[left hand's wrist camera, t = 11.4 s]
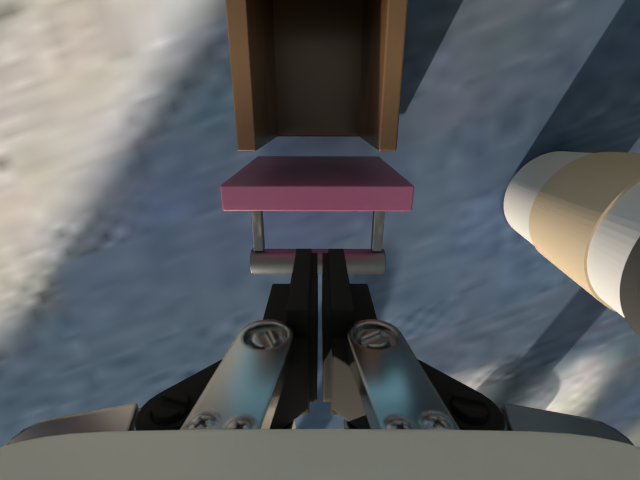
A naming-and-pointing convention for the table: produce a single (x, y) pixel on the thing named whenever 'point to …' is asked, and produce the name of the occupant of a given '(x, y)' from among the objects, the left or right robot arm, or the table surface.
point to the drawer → (317, 114)
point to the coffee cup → (584, 221)
